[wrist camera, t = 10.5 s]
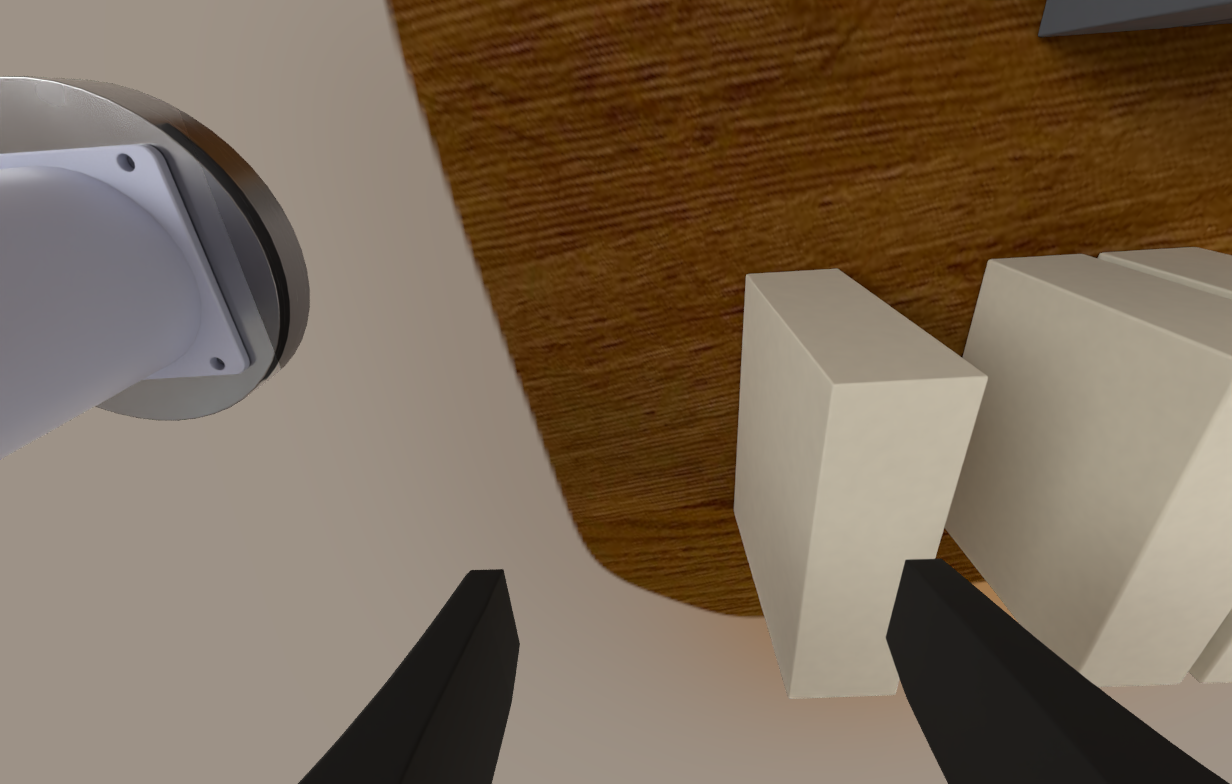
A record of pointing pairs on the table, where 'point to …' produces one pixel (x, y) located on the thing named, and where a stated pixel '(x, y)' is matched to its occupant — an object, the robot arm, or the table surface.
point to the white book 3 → (1223, 276)
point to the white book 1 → (842, 469)
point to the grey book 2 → (1212, 22)
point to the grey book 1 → (1127, 15)
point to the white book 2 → (1101, 463)
